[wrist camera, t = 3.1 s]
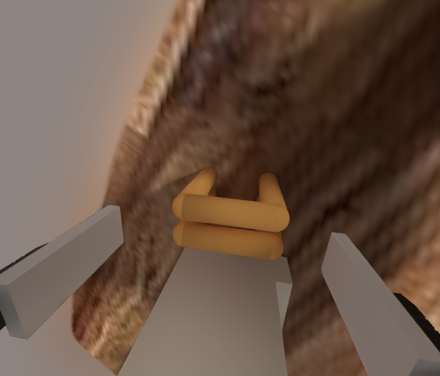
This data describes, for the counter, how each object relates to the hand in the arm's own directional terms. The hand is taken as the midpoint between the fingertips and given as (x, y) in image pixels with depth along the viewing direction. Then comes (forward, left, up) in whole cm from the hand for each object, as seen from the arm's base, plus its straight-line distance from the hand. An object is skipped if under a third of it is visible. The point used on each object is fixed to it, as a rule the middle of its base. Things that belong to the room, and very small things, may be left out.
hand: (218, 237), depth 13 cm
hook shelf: (+16, +4, -9) cm, 19 cm away
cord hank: (0, 0, -9) cm, 9 cm away
